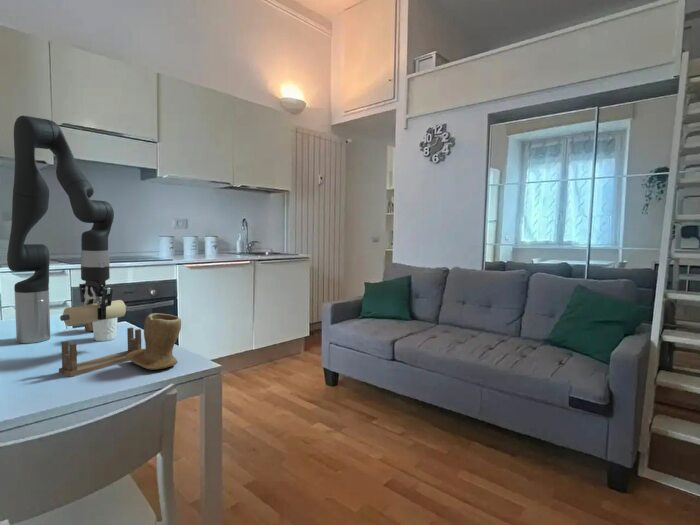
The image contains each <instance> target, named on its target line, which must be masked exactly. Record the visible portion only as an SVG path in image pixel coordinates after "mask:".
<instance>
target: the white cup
mask: <svg viewBox="0 0 700 525" xmlns="http://www.w3.org/2000/svg"><path fill="white" fill-rule="evenodd" d="M92 324H93V332H92V333H93V340H94V341H95V340H96V342H107V340H108V341H112V340H115V339H116V338H117V332H118V331H117V329H118V317H117V318H112V319H107V320H101V321H96V322H92Z"/></svg>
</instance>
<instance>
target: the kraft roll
mask: <svg viewBox="0 0 700 525" xmlns="http://www.w3.org/2000/svg"><path fill="white" fill-rule="evenodd" d="M127 310H128V305H127V304H125V302H124V301H123V300H122V299H116V300H112V302H111V306H108V307H106V319H103V320H107V319H112V318H117V319H118V318H121V317H122V318H123V317H124V316H125V315H126V312H127ZM62 312H63V313H62V315H60V316H59V320H60V321H61V322H64V324H65V325H66V326H67V327H73V326H79V325H85V323H91V322H96V321H101V320H98V306H97V302H96V303H94V304H89V305H85V304H84V305H76V306H71V307H70V306H69V307H66V308H65V307H64V310H63V311H62Z"/></svg>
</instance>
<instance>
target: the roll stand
mask: <svg viewBox="0 0 700 525" xmlns="http://www.w3.org/2000/svg"><path fill="white" fill-rule="evenodd" d="M126 330H127V331H126V333H127V350H124V351H121V352H120V351H119V352H116V353H114V354H109V355H105V356H102V357H99V358H94V359H89V360H87V361H82V362H79V363H78V359H77V358H78V356H77V354H78V353H77V352H78V351H77V350H78V349H77V343H74V342H72V343H69V341H67V340H63V341H61V344H60V346H61V347H60V348H61V367H60V368H59V367H58V373H59V374H61V375H64V376H68V377H69V378H72V377H76V376H79V375H84V374H87V373H91V372H93V371H97V370H101V369H104V368H107V367H112V366H115V365H118V364H122V363H125V362H129V361H130V360H129V359H127V358H126V355H127V354H128V353H130V352H132V351H135V350H139V349H142V329H140V328H139V329H134V327H127V329H126Z"/></svg>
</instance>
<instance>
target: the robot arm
mask: <svg viewBox="0 0 700 525" xmlns="http://www.w3.org/2000/svg"><path fill="white" fill-rule="evenodd" d="M13 148H14V149H13V151H14V173H13V174H14V175H13V176H14V177H13V187H12V199H11V200H12V202H11V206H12V207H11V209H12V210H11V226H10V235H9V240H8V247H7V253H6V255H7V256H6V263H7V267H8V269H9V270H10V271H12V272H14V273H15V272H18V273H19V272H34V273H33V275H31V276H30V277H28V278H26V279H23V280H20V281H18V282H16V283H15V284H14V305H15V306H14V310H15V338H16V343H18V344H33V343H39V342H43V341H44V342H45V341H48V340H50V339H51V316H50V291H49V290H50V286H49V285H50V256H51V255H50V252H49V251H50V250H49V249H48V246H47V245H45V244H42V243H41V244H39V243H31V244H30V243H25V241H26V240H27V239H26V238H27V236H28V234H29V232H31V230H32V229H33V228H34V226H36V225H37V224H38V223H39V221H41V220H42V218H43V217H44V216H45V215H46V213H47V212H48V210H49V201H50V188H49V186H48V184H47V182H46V181H45V179H44V176H42V174H41V172H40V171H39V169H38V167H37V165H36V157H35V155H36V153H35V152H36V151H35V150H36V149H42V150H49V151H50V152H52V153H53V155H54V156H55V158H56V161H57V162H56V168H55V169H56V170H55V174H56V178H57V181H58V183H59V184H60V186H61V187H62V189H63V190H64V192H65V194H67V196H68V199H69V200H68V201H69V203H70V206H71V209H72V213H73V215H74V216H75V218H76V219H77V220H78V221H80V222H83V223H87V224H92V226H91V229H89V230H87V231H83V232H82V233H81V240H80V241H81V253H80V279H81V281H84V282H85V283H79V285H78V287H79V288H78V289H79V295H80V302H81V303H83V304H84V305H89V304H95V302H96V303H97V306H98V320H103V319H106V307H108V306H111V302H112V301H113V290H114V289H113V287H108V286H107V283H106V281H108V280H110V274H111V273H110V255H109V254H110V253H109V235H110V233H111V230H112V226H113V223H114V218H115V212H114V208H113V206H112V205H111V203H109V202H108V201H106V200H98V199H97V200H96V199H90V198H91V197H92V196H94V192H95V191H94V187H93V186H92V185H91V183H90V181H89V180H88V178H87V177H86V176H85V174H84V173H83V172H82V169H81V168H80V167H79V164H78V163H77V161H76V159H75V157H74V154H73V153H72V152H73V151H72V150H71V147H70V146H69V144H68V141H67V139H66V137H65V134H64V133H63V130H62V129H61V127H60V126H59V125H58V124H57V122H55V121H53V120H50V119H47V118H41V117H34V116H29V115H19V116H18V117H17V118H16V119H15V122H14V125H13Z"/></svg>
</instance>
